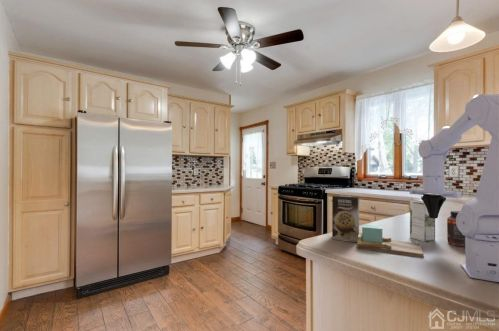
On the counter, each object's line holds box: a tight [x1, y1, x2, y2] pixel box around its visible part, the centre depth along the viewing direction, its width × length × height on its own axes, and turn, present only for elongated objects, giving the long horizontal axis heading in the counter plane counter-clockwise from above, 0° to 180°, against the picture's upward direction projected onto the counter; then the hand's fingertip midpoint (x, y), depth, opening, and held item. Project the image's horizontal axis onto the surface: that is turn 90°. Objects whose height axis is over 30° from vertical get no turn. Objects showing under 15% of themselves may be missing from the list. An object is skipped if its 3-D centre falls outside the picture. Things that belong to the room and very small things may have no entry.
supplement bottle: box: [446, 210, 465, 248], centre depth 87 cm, size 6×6×11 cm
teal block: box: [361, 224, 383, 243], centre depth 85 cm, size 4×6×6 cm
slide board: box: [357, 230, 425, 259], centre depth 84 cm, size 12×18×4 cm, turn 61°
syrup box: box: [409, 198, 436, 242], centre depth 93 cm, size 6×6×14 cm
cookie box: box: [331, 194, 360, 243], centre depth 94 cm, size 9×6×16 cm
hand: (433, 218), depth 83 cm, fingers closed
